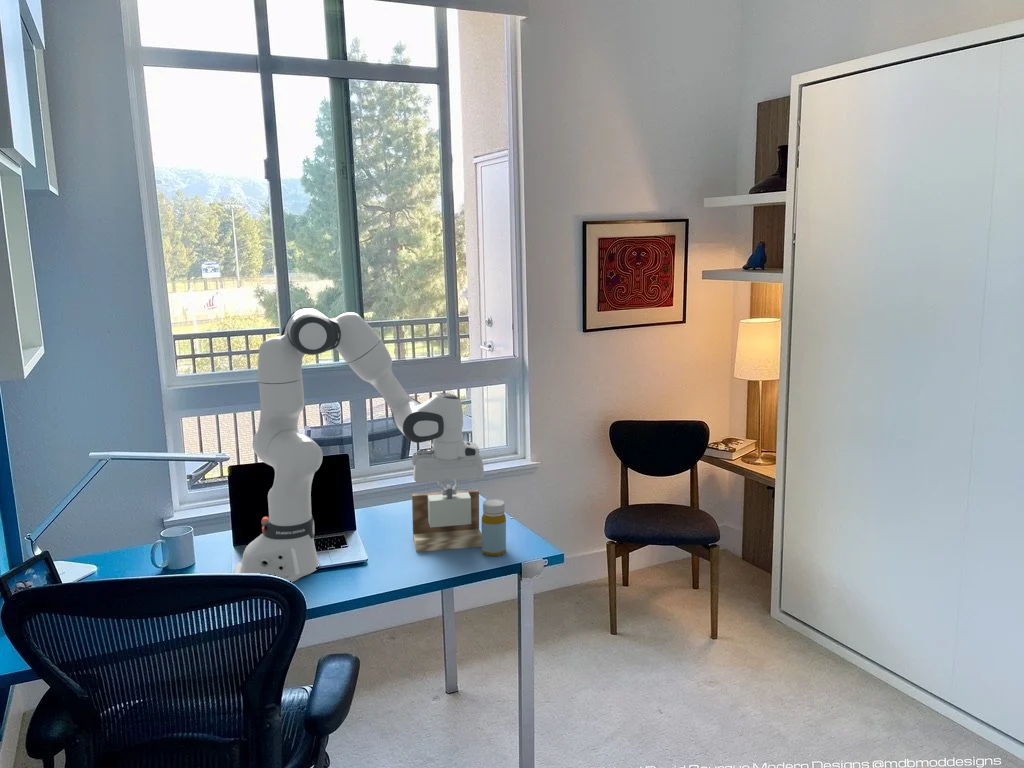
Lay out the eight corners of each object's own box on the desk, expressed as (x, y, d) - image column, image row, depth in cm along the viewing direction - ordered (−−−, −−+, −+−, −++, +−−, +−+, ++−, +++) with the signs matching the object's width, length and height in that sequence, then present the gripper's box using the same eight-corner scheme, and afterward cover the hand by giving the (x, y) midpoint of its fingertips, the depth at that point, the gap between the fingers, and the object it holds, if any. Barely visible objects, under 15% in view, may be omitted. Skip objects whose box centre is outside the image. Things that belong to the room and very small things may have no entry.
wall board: (416, 551, 219) (415, 506, 216) (412, 537, 229) (411, 493, 226) (484, 546, 223) (484, 501, 220) (478, 532, 233) (477, 489, 230)
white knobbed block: (430, 527, 218) (429, 491, 216) (428, 521, 223) (427, 485, 221) (471, 524, 220) (470, 488, 218) (468, 517, 225) (468, 482, 223)
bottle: (484, 558, 215) (484, 507, 212) (479, 548, 222) (479, 499, 219) (508, 555, 217) (508, 505, 214) (502, 545, 223) (502, 497, 220)
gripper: (412, 454, 212) (414, 501, 215) (484, 449, 216) (485, 495, 219) (410, 447, 218) (412, 493, 221) (480, 443, 222) (481, 488, 225)
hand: (449, 494), depth 220 cm, fingers closed on white knobbed block
